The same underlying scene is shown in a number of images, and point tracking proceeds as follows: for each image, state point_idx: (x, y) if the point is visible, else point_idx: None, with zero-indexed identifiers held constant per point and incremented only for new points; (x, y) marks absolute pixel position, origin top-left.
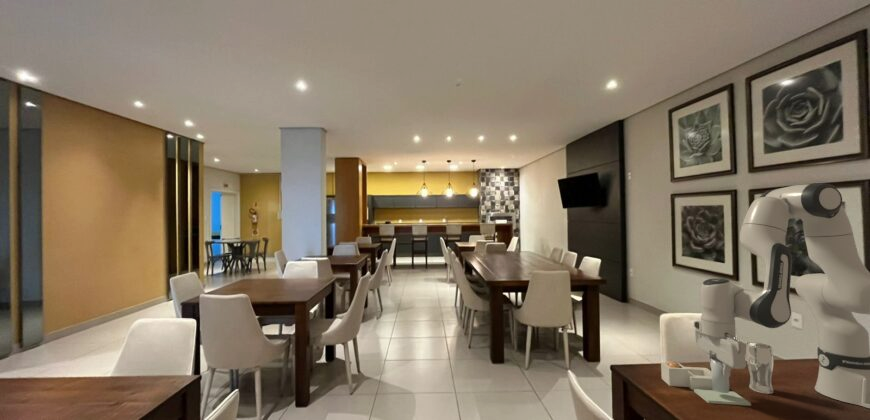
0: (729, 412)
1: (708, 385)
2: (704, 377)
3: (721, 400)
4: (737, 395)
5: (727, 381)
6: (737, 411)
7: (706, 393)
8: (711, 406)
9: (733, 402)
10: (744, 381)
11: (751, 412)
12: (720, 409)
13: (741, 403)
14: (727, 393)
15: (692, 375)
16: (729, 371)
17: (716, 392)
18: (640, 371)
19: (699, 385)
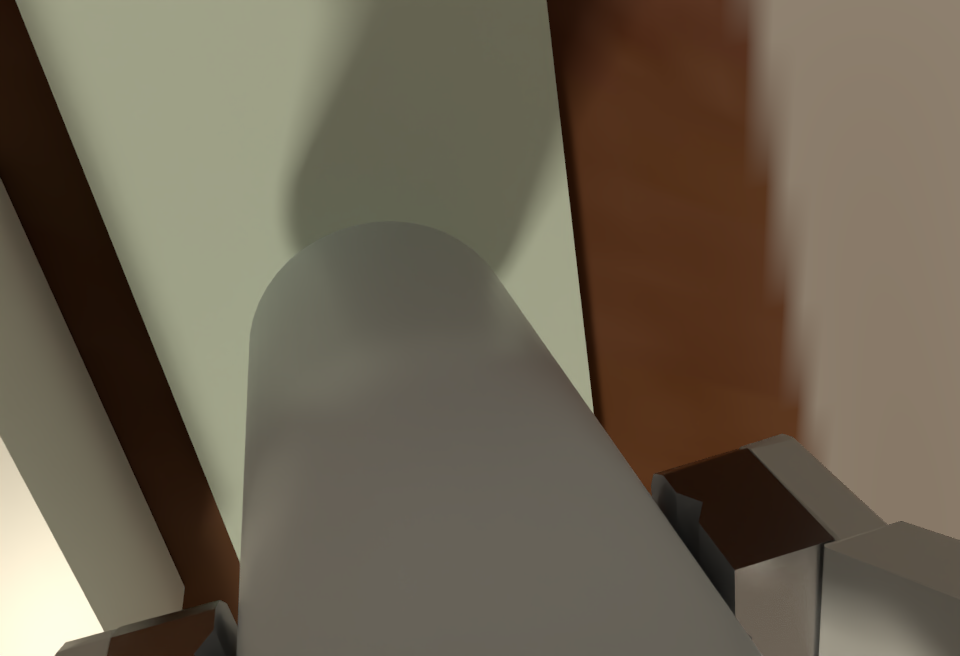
0: (793, 306)
1: (79, 434)
2: (12, 569)
3: (556, 339)
4: (234, 9)
5: (553, 362)
6: (754, 203)
7: None
8: (672, 453)
9: (567, 190)
10: None
11: (755, 19)
12: (732, 380)
13: (546, 67)
14: (212, 167)
15: None
16: (876, 534)
17: (247, 333)
18: None
19: (132, 547)
